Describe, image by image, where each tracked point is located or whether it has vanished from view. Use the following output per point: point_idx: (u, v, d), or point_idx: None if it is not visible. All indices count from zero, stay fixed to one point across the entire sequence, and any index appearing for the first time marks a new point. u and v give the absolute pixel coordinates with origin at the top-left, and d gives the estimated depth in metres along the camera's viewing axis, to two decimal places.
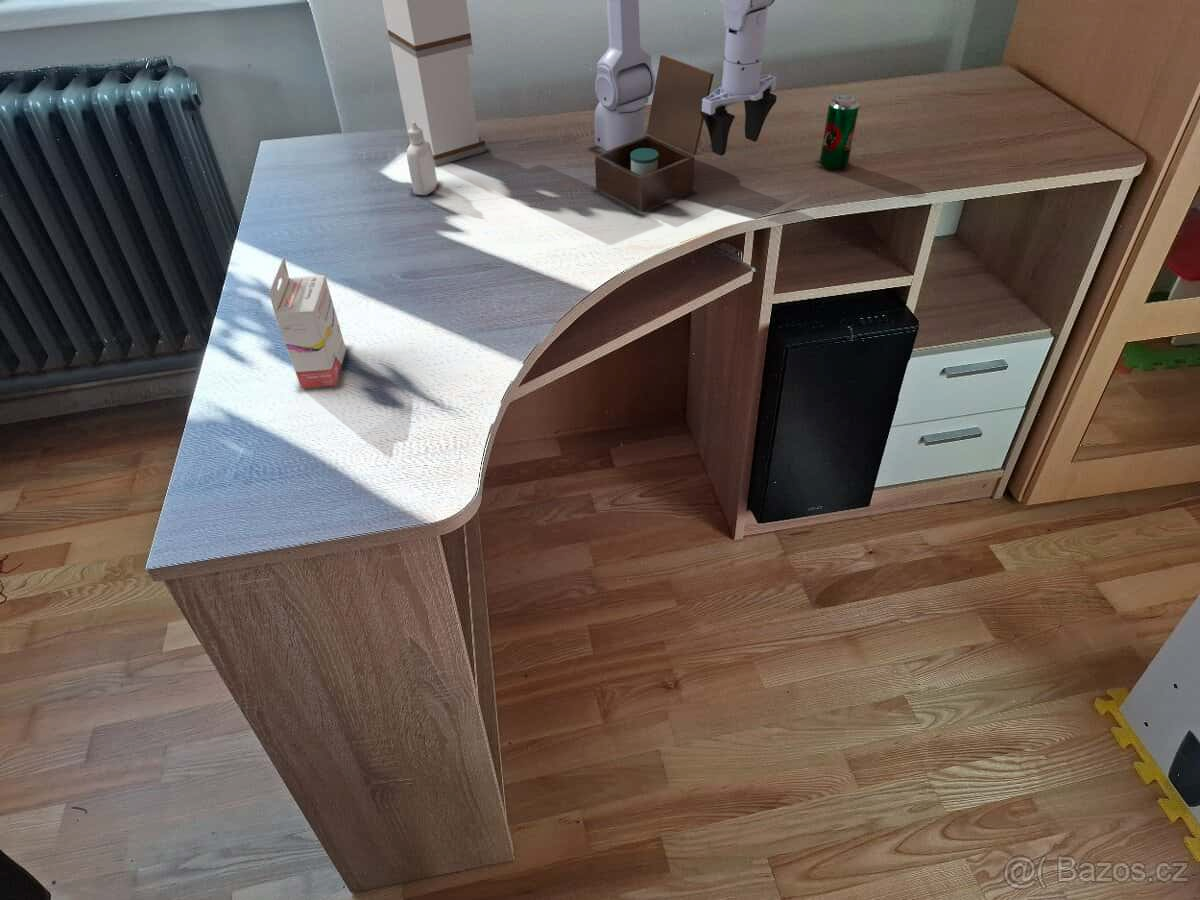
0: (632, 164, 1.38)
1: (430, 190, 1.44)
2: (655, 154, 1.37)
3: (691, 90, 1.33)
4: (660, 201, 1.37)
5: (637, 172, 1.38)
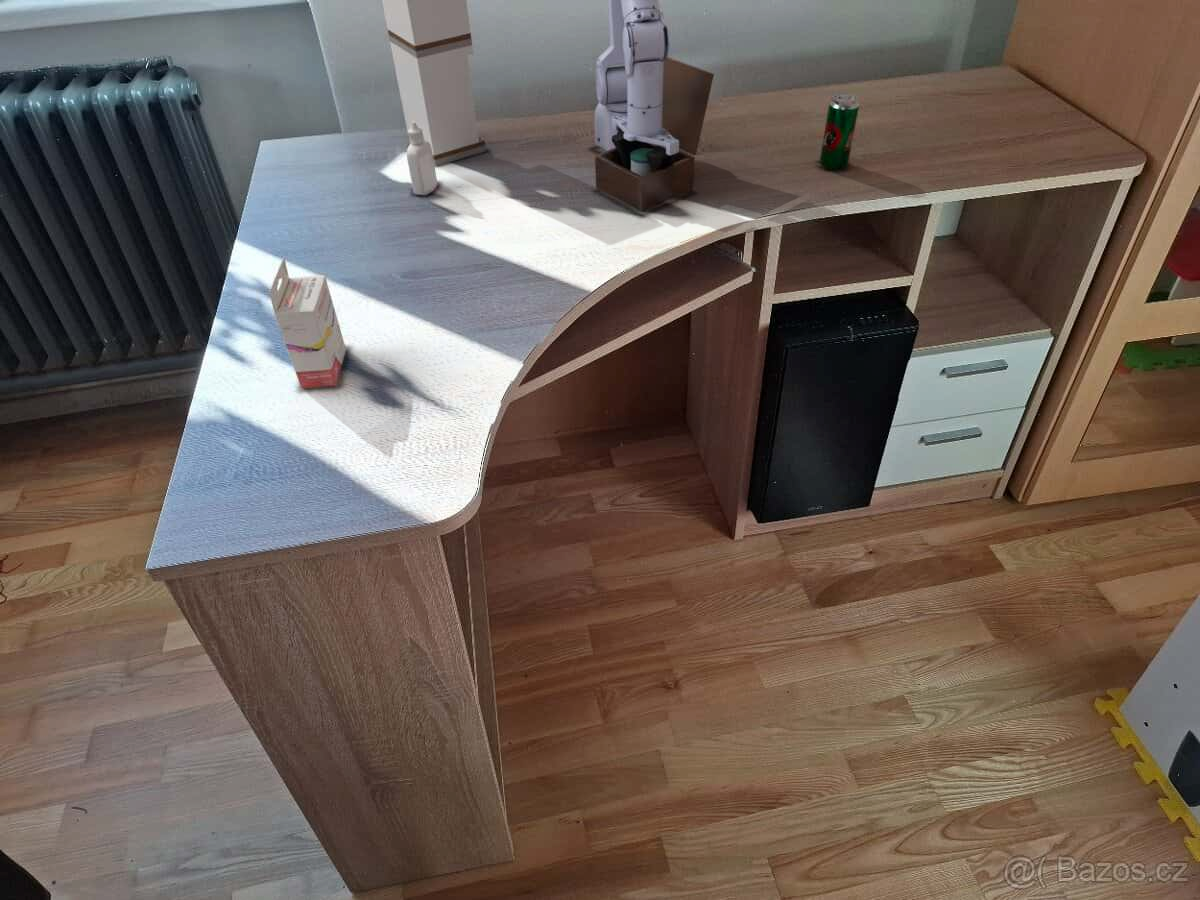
0: (632, 164, 1.38)
1: (430, 190, 1.44)
2: None
3: (691, 90, 1.33)
4: (660, 201, 1.37)
5: (637, 172, 1.38)
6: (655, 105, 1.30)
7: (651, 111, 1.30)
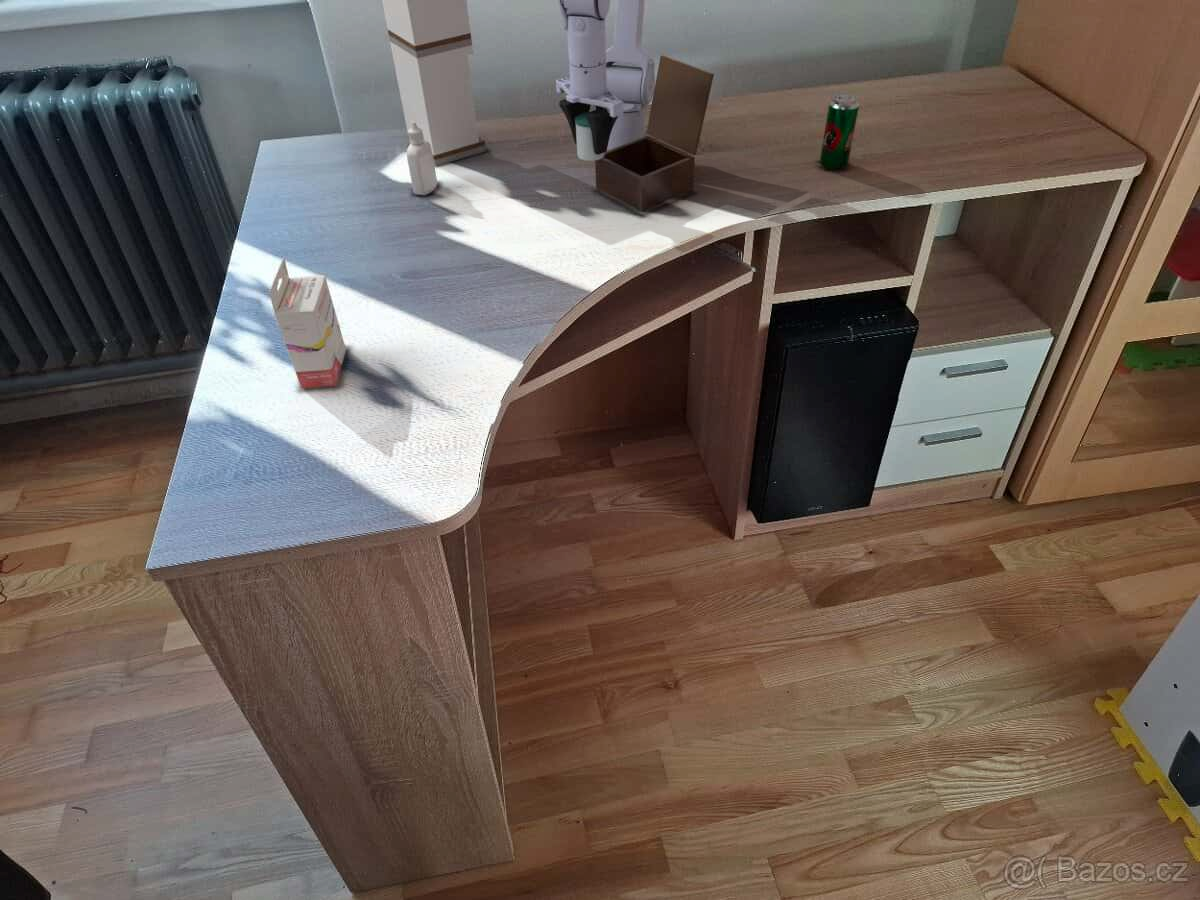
0: (577, 128, 1.32)
1: (430, 190, 1.44)
2: None
3: (691, 90, 1.33)
4: (660, 201, 1.37)
5: (582, 137, 1.31)
6: (588, 65, 1.23)
7: (593, 70, 1.24)
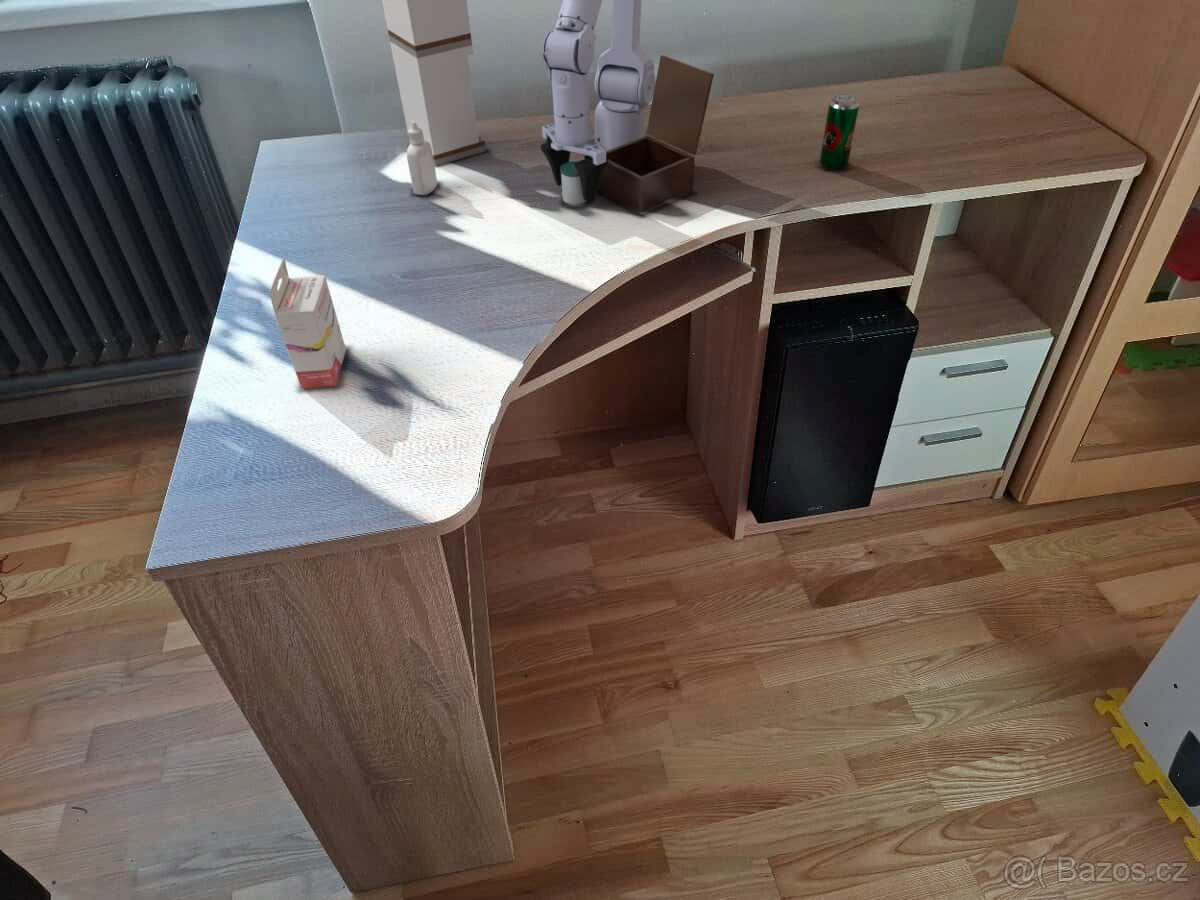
0: (562, 177, 1.37)
1: (430, 190, 1.44)
2: None
3: (691, 90, 1.33)
4: (660, 201, 1.37)
5: (567, 185, 1.37)
6: (570, 116, 1.28)
7: (577, 120, 1.28)
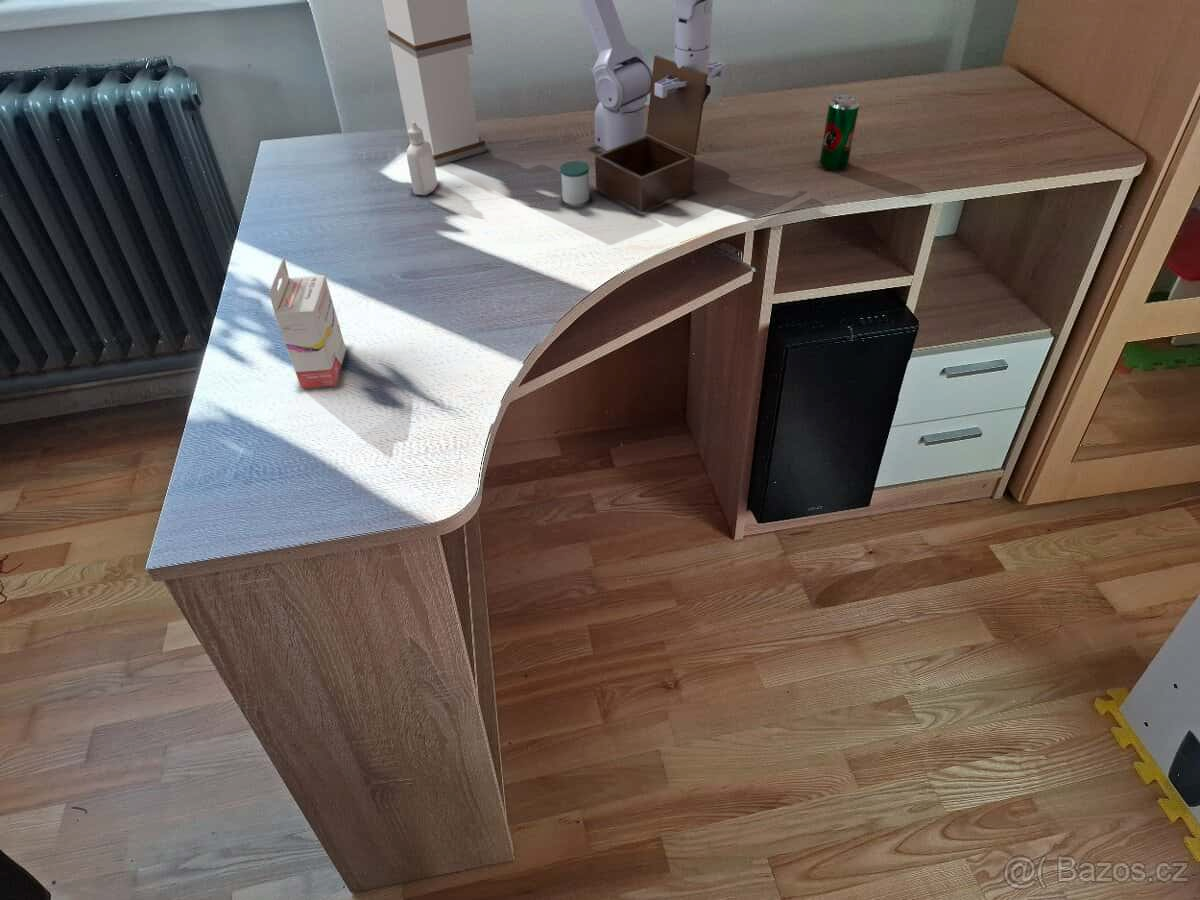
0: (562, 177, 1.37)
1: (430, 190, 1.44)
2: (585, 167, 1.36)
3: (686, 91, 1.33)
4: (660, 201, 1.37)
5: (567, 185, 1.37)
6: (709, 44, 1.31)
7: None
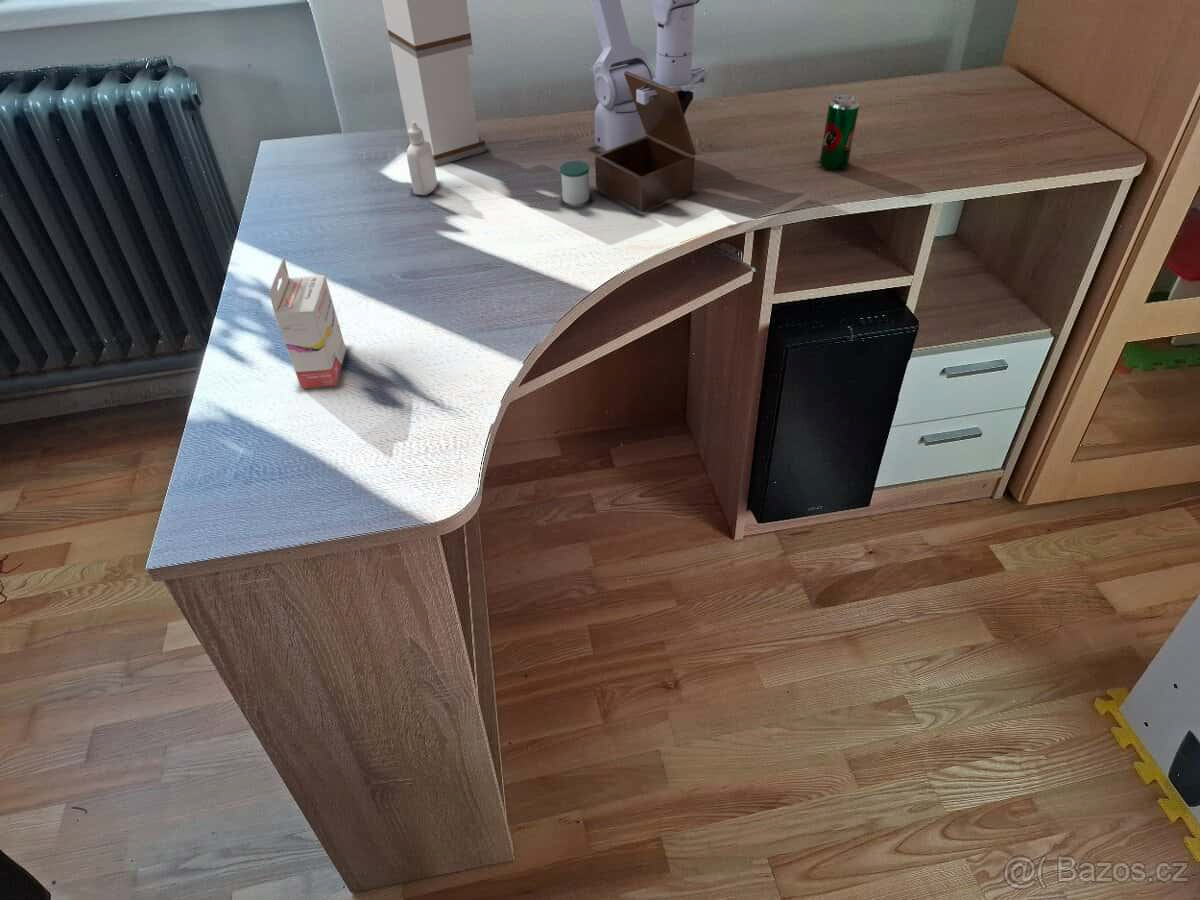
0: (562, 177, 1.37)
1: (430, 190, 1.44)
2: (585, 167, 1.36)
3: (664, 104, 1.31)
4: (660, 201, 1.37)
5: (567, 185, 1.37)
6: (689, 52, 1.28)
7: None
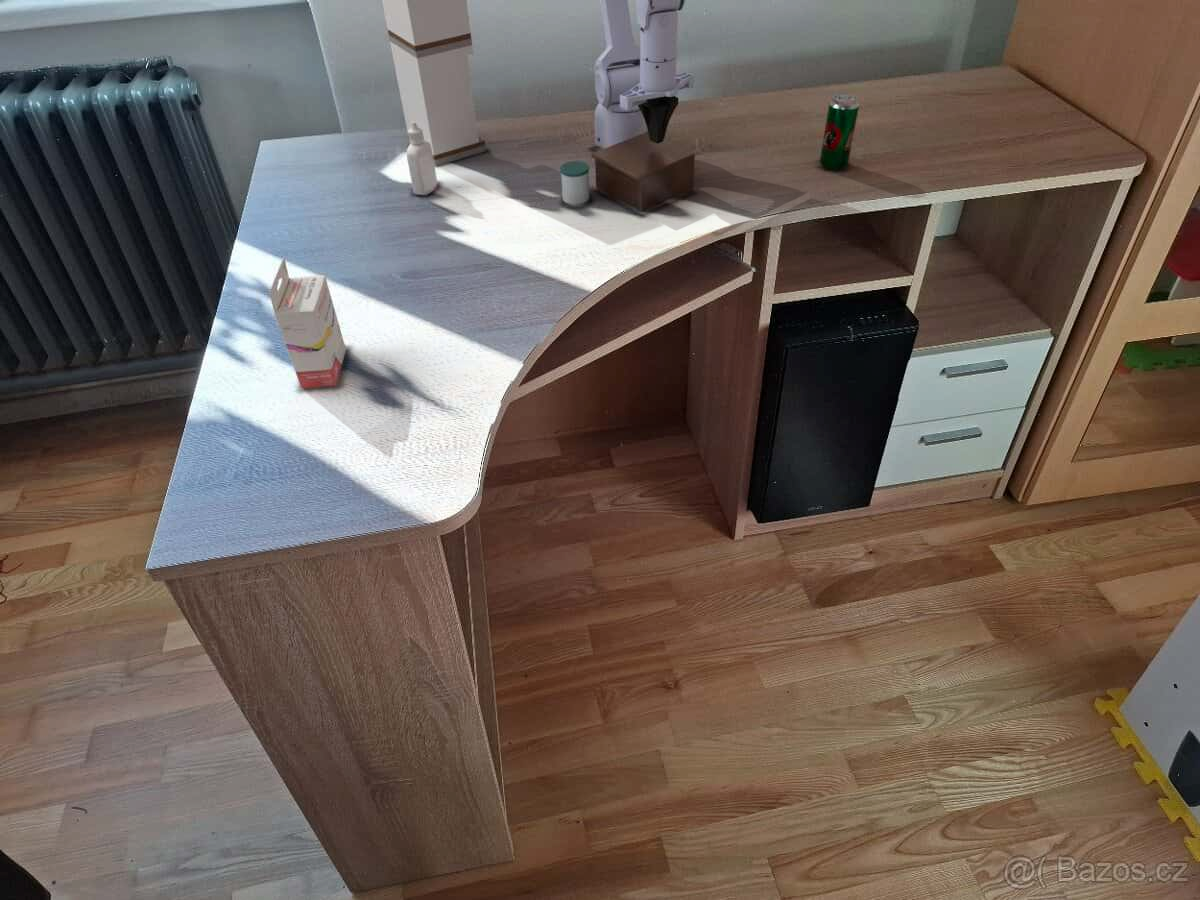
0: (562, 177, 1.37)
1: (430, 190, 1.44)
2: (585, 167, 1.36)
3: None
4: (660, 201, 1.37)
5: (567, 185, 1.37)
6: (671, 58, 1.27)
7: None
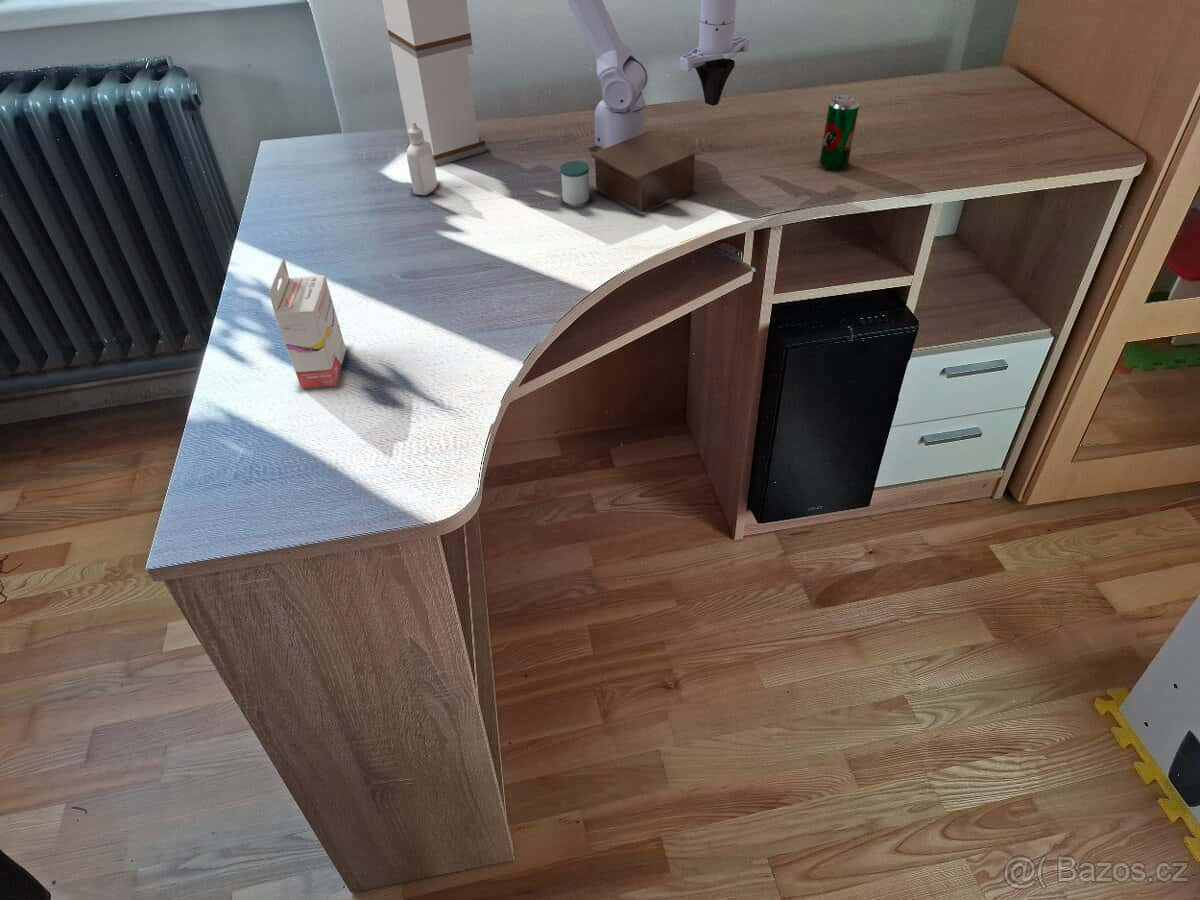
0: (562, 177, 1.37)
1: (430, 190, 1.44)
2: (585, 167, 1.36)
3: None
4: (660, 201, 1.37)
5: (567, 185, 1.37)
6: None
7: None
